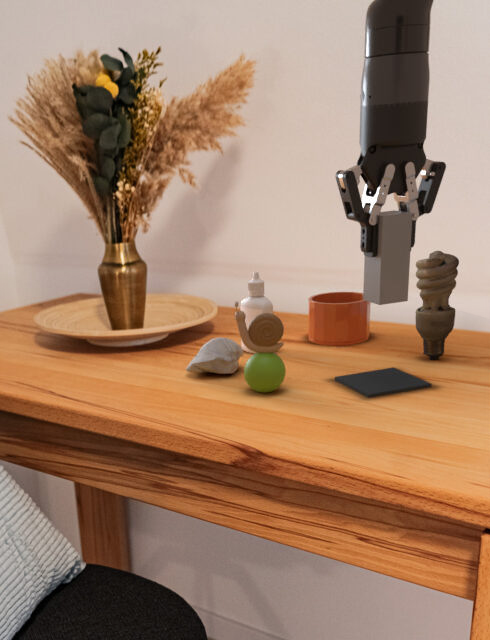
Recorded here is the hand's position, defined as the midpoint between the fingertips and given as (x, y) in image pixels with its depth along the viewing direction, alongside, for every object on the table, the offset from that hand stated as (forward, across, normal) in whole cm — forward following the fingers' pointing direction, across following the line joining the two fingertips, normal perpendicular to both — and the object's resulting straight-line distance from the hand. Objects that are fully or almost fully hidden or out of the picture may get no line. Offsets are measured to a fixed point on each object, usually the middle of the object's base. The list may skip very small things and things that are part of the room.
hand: (387, 253), depth 104 cm
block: (+6, 0, 0) cm, 6 cm away
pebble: (+17, -17, +17) cm, 29 cm away
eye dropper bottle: (+17, -7, +25) cm, 31 cm away
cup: (+17, +7, +25) cm, 31 cm away
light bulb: (+17, +12, +7) cm, 22 cm away
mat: (+17, 0, 0) cm, 17 cm away
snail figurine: (+17, -15, +5) cm, 23 cm away
